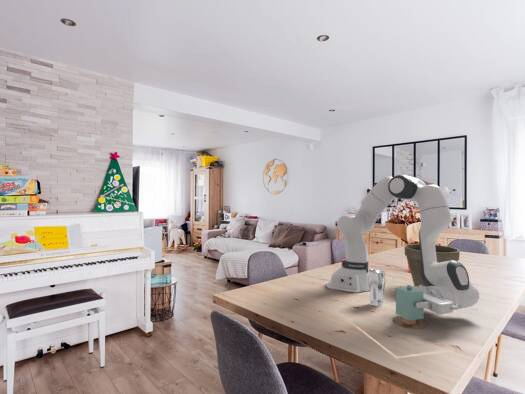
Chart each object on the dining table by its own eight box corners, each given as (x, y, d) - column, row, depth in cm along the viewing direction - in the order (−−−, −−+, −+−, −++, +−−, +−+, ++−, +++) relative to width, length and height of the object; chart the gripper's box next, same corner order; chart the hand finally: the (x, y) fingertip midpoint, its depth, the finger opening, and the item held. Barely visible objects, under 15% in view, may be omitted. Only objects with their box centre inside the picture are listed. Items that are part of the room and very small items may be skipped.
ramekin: (407, 324, 111) (407, 318, 111) (401, 321, 115) (401, 314, 115) (415, 323, 112) (415, 317, 112) (409, 320, 116) (409, 313, 116)
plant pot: (469, 299, 141) (469, 252, 141) (412, 295, 146) (411, 250, 146) (448, 284, 166) (447, 244, 166) (399, 281, 171) (399, 243, 171)
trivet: (393, 327, 110) (393, 325, 110) (391, 316, 121) (391, 315, 121) (427, 332, 106) (427, 330, 106) (423, 320, 117) (423, 318, 117)
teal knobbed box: (408, 320, 109) (407, 289, 109) (395, 313, 116) (395, 284, 116) (423, 318, 111) (423, 287, 111) (410, 312, 117) (410, 283, 117)
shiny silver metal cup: (381, 302, 137) (381, 269, 137) (388, 307, 130) (387, 272, 130) (365, 302, 137) (365, 269, 137) (371, 308, 130) (371, 272, 130)
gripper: (462, 316, 106) (428, 320, 103) (419, 298, 126) (390, 301, 123) (462, 298, 106) (428, 301, 103) (419, 283, 126) (389, 285, 123)
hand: (407, 301), depth 113 cm, fingers closed on teal knobbed box, 7 cm apart
